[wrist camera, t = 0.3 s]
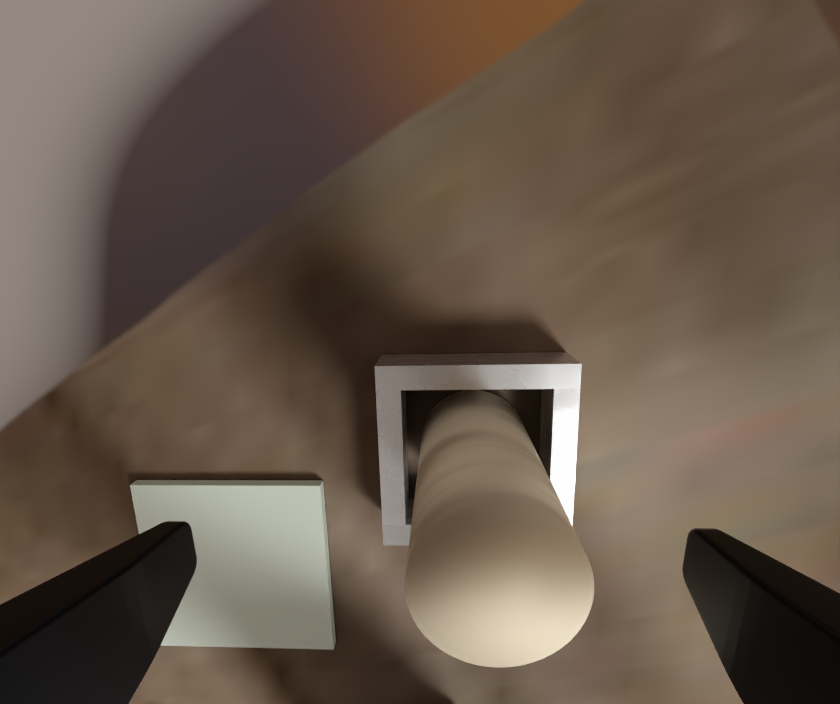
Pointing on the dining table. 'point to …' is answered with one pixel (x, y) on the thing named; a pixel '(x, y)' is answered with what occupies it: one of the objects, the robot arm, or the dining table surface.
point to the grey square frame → (474, 372)
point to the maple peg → (491, 540)
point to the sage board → (248, 561)
